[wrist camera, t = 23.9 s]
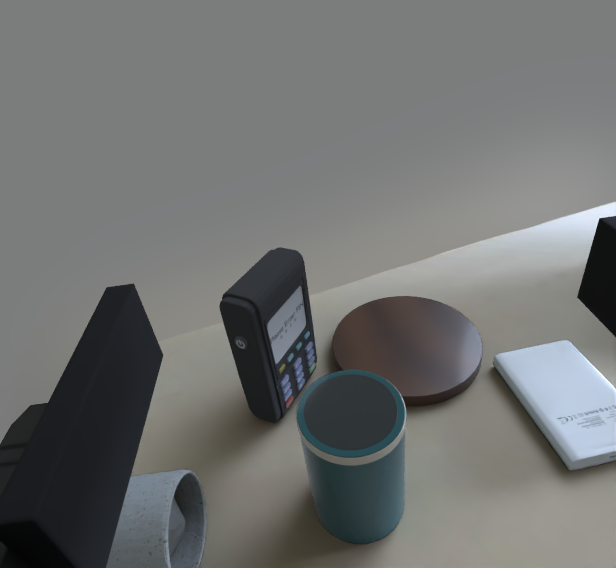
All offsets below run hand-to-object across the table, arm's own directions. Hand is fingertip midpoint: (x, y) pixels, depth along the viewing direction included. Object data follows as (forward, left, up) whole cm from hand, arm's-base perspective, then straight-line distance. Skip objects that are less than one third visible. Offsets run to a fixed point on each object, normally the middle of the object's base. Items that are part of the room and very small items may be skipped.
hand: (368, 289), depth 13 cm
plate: (-20, -18, -28) cm, 39 cm away
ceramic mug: (+11, -13, -28) cm, 33 cm away
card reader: (-6, -22, -28) cm, 36 cm away
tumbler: (-5, -8, -28) cm, 30 cm away
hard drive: (-26, -3, -28) cm, 38 cm away
